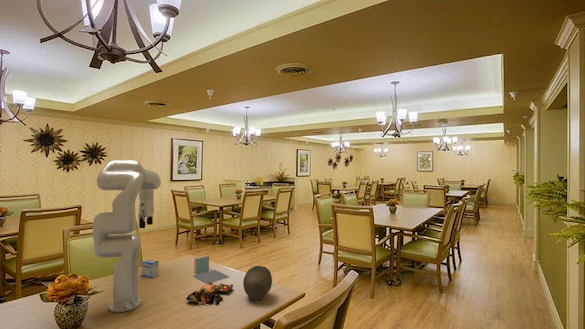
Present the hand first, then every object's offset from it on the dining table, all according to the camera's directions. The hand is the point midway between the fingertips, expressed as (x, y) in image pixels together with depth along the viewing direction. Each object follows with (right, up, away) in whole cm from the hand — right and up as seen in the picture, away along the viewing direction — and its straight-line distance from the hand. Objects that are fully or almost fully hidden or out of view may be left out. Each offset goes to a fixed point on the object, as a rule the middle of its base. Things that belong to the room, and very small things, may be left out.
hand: (146, 226), depth 169 cm
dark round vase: (+68, -28, -30) cm, 80 cm away
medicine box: (+5, -27, -5) cm, 28 cm away
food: (+45, -28, -28) cm, 60 cm away
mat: (+39, -28, -4) cm, 48 cm away
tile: (+31, -28, +3) cm, 42 cm away
